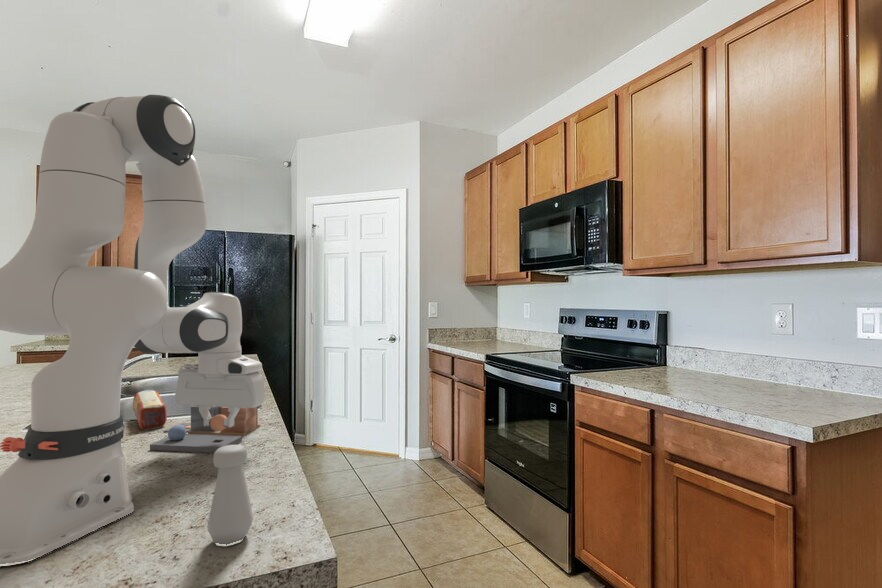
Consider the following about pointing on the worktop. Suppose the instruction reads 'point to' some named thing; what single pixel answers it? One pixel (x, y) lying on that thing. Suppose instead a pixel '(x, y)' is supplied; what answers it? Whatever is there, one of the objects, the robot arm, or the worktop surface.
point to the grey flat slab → (196, 443)
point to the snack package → (149, 410)
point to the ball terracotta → (218, 422)
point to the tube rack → (242, 422)
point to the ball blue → (176, 433)
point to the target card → (185, 425)
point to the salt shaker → (230, 497)
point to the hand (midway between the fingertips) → (218, 426)
